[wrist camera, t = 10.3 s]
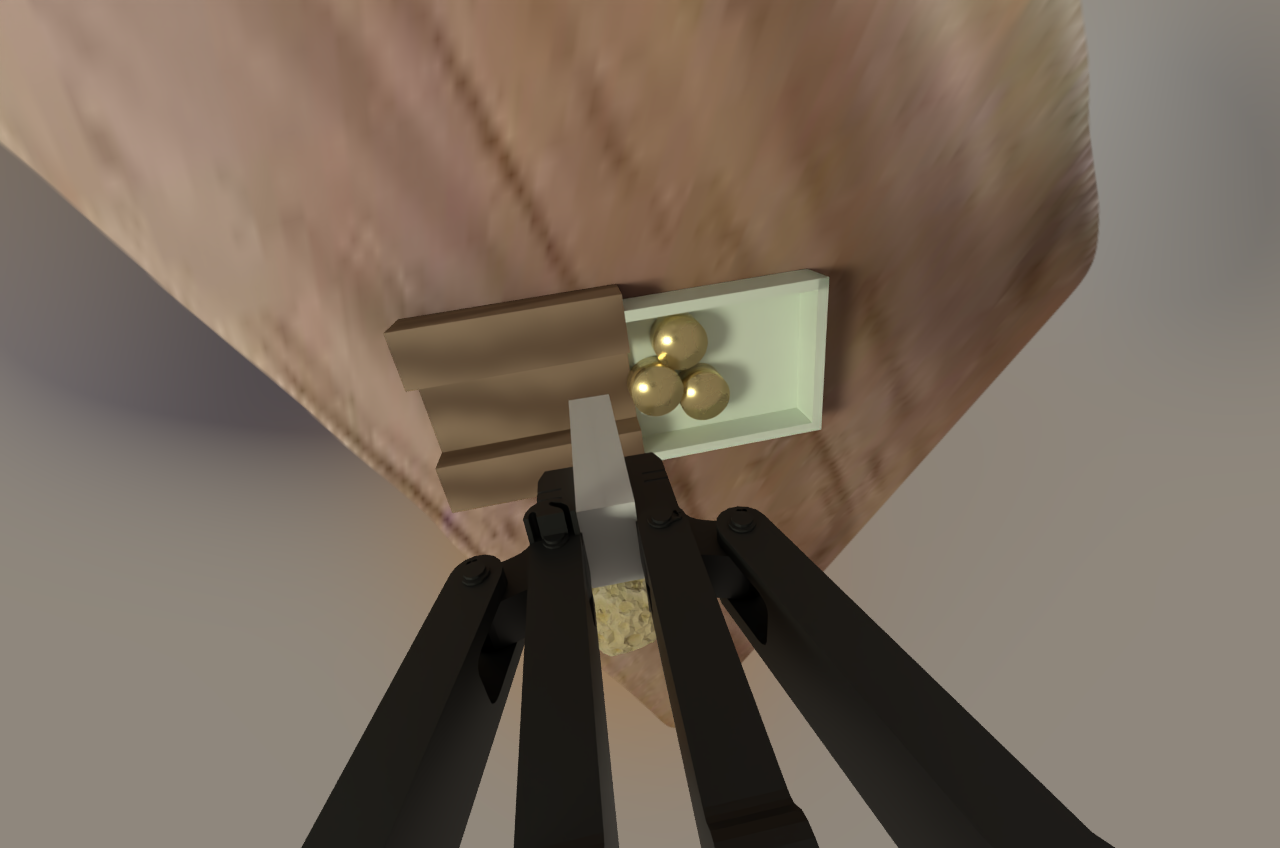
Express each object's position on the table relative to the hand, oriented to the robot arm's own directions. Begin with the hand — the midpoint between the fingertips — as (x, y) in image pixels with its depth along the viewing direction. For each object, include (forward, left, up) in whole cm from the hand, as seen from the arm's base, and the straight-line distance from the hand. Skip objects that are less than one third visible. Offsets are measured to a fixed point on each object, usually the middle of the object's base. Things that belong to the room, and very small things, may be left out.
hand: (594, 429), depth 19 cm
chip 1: (+4, +7, -20) cm, 22 cm away
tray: (+7, +11, -21) cm, 24 cm away
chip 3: (+8, +9, -20) cm, 24 cm away
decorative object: (+28, -1, -21) cm, 35 cm away
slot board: (+7, -5, -21) cm, 22 cm away
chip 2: (+7, +5, -20) cm, 22 cm away
